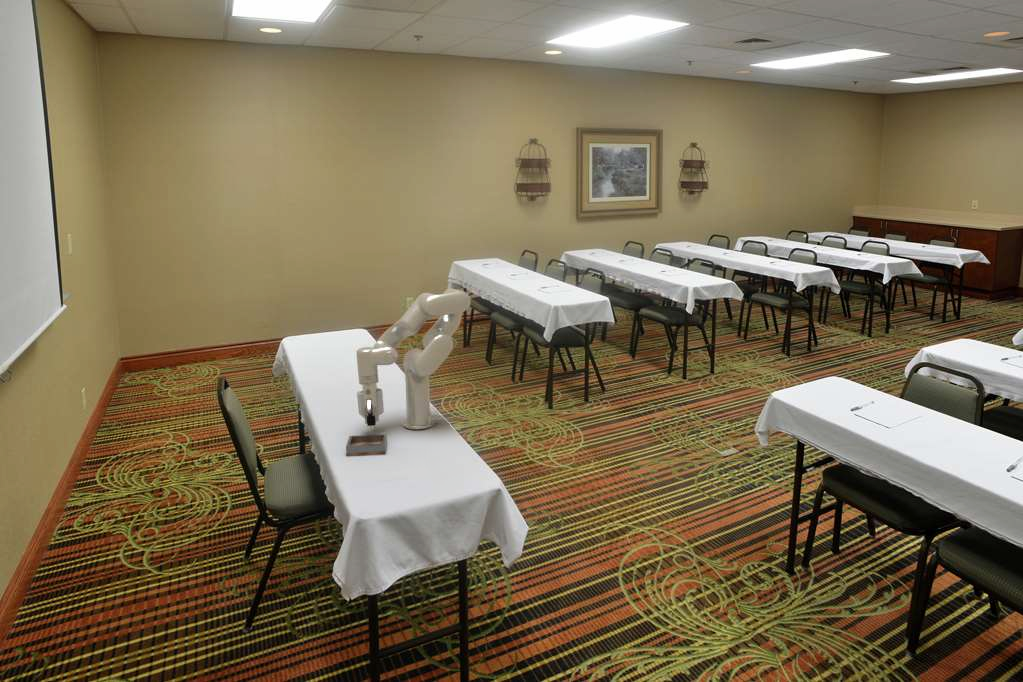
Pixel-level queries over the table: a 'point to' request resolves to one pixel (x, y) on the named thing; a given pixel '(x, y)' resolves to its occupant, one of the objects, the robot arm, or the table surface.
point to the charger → (377, 410)
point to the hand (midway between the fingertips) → (372, 422)
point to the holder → (366, 445)
